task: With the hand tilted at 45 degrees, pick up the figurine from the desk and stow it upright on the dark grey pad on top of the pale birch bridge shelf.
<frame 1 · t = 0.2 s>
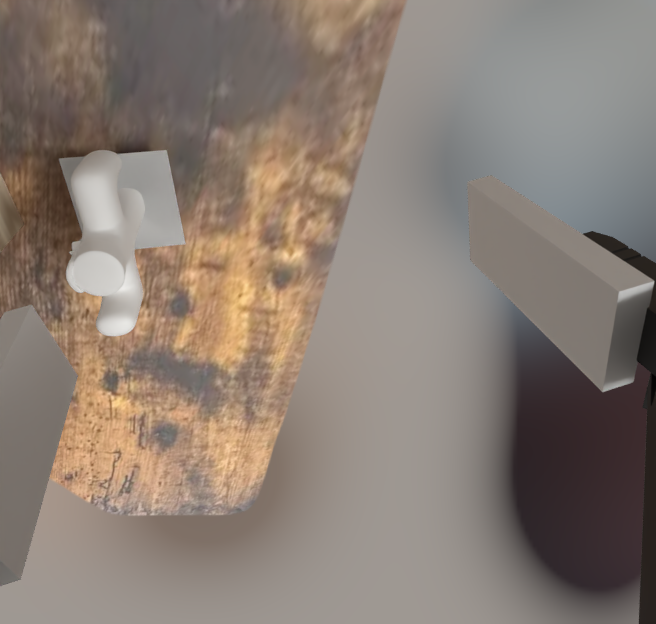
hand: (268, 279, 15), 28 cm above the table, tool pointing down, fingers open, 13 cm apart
figurine: (133, 187, 41), on the table
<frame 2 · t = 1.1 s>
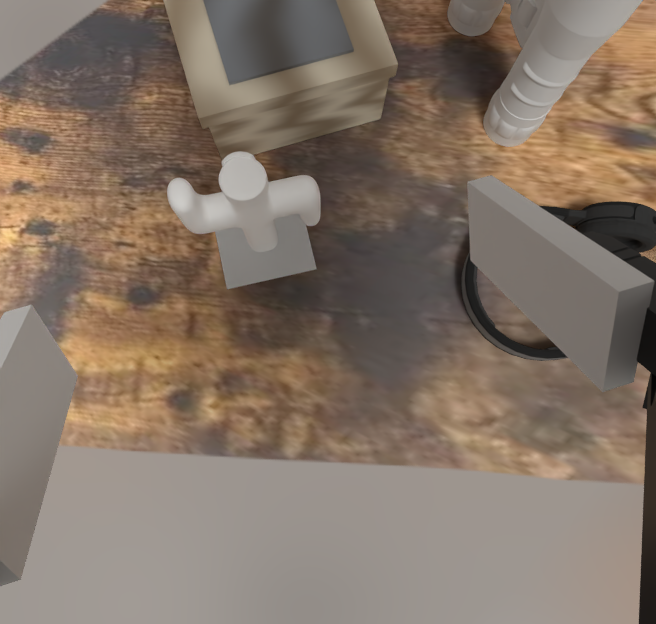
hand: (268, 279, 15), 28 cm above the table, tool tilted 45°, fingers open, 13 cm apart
binoculars: (488, 69, 49), on the table
figurine: (267, 251, 45), on the table
bridge shelf: (280, 74, 48), on the table
headset: (562, 289, 45), on the table
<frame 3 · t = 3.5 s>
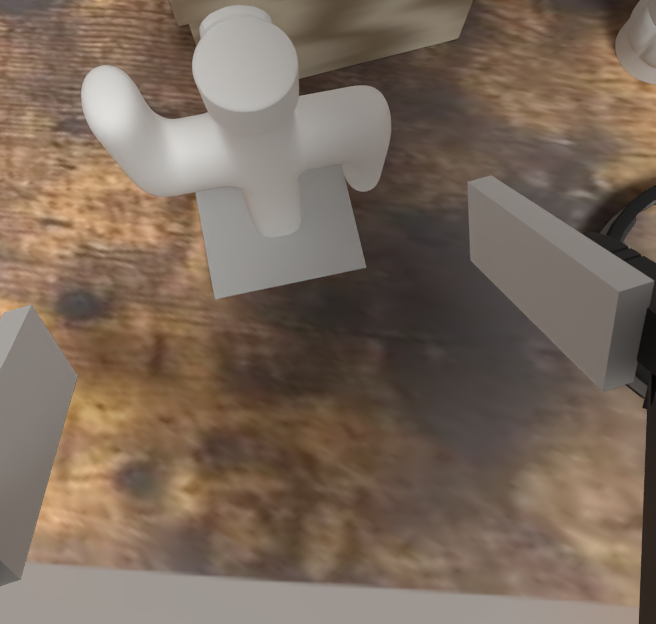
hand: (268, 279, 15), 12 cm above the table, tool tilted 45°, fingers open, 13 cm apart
figurine: (281, 237, 28), on the table
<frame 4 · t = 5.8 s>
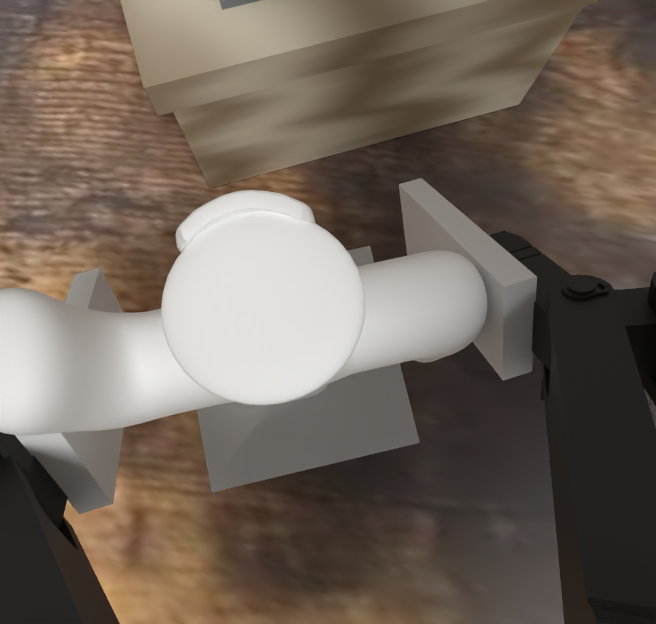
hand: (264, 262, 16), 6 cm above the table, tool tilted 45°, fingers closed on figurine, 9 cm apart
figurine: (298, 371, 22), on the table, touching gripper
bridge shelf: (323, 18, 25), on the table
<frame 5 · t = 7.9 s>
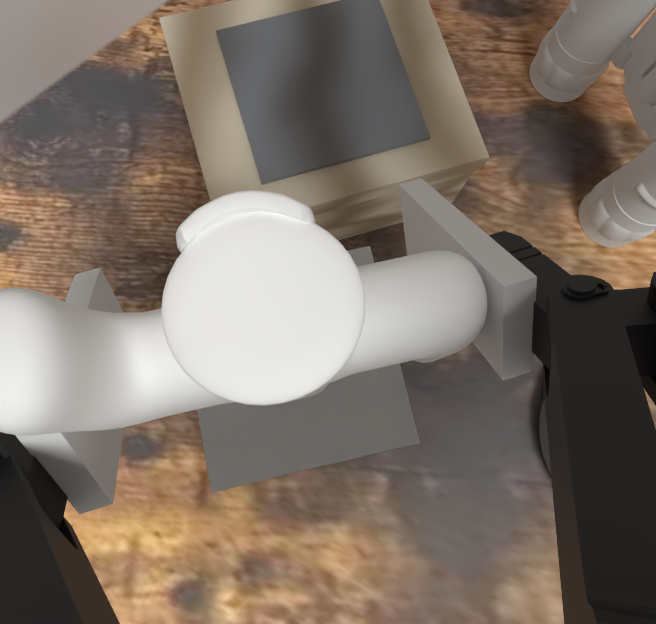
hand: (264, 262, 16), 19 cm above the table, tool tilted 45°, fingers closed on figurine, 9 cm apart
binoculars: (582, 145, 38), on the table
figurine: (298, 371, 22), point 13 cm above the table, touching gripper
bridge shelf: (319, 150, 37), on the table
when the fingers open (15 cm above the table, at t = 10.3 s): figurine drops 2 cm, resting on bridge shelf.
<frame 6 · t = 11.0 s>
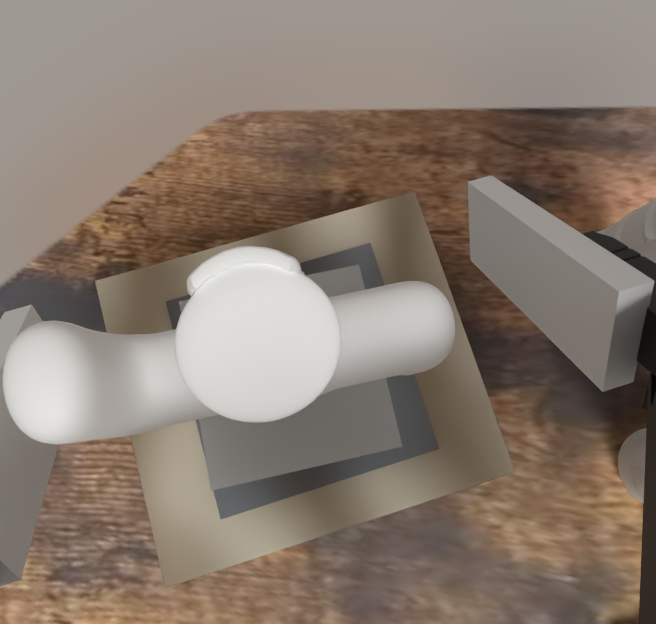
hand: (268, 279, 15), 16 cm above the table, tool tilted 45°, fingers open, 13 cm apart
binoculars: (620, 370, 32), on the table
figurine: (292, 378, 23), point 8 cm above the table, touching bridge shelf
bridge shelf: (303, 382, 31), on the table
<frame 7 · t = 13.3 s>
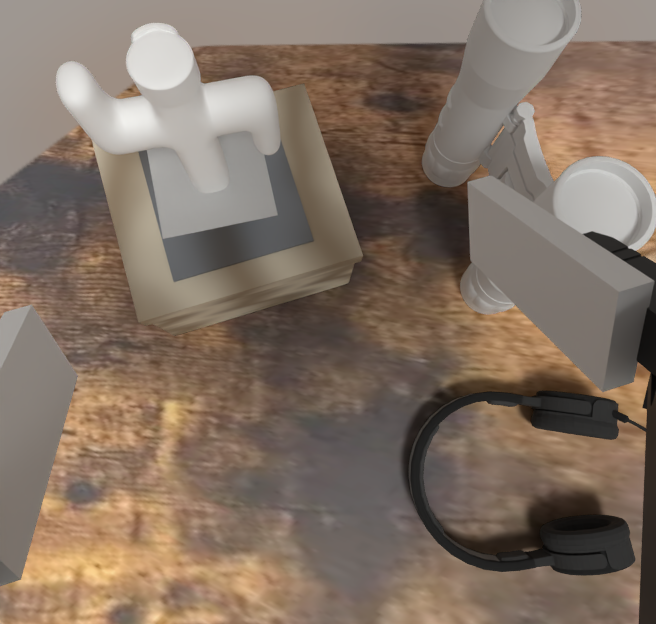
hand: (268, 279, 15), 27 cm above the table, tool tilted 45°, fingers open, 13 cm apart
binoculars: (465, 225, 45), on the table
figurine: (220, 198, 36), point 8 cm above the table, touching bridge shelf
bridge shelf: (239, 232, 44), on the table
headset: (518, 473, 41), on the table
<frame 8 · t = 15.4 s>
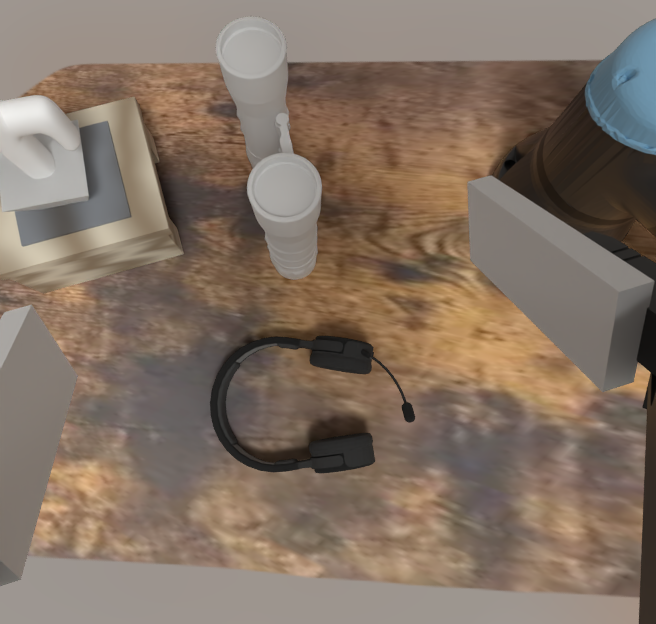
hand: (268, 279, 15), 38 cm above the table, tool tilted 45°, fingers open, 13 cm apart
binoculars: (282, 209, 56), on the table
figurine: (62, 184, 48), point 8 cm above the table, touching bridge shelf
bridge shelf: (100, 213, 55), on the table
headset: (306, 403, 52), on the table
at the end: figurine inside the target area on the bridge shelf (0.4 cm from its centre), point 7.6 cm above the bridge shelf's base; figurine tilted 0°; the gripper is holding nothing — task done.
